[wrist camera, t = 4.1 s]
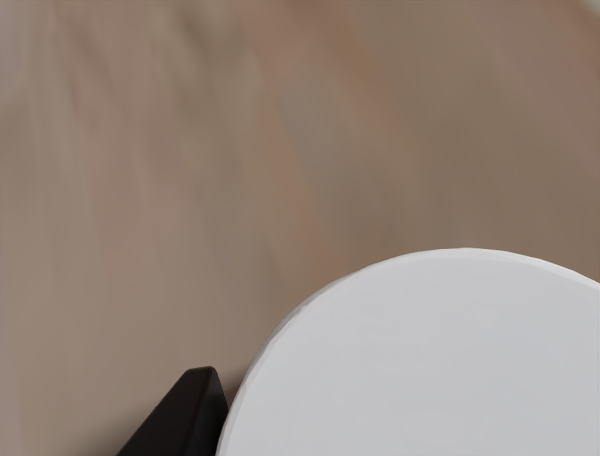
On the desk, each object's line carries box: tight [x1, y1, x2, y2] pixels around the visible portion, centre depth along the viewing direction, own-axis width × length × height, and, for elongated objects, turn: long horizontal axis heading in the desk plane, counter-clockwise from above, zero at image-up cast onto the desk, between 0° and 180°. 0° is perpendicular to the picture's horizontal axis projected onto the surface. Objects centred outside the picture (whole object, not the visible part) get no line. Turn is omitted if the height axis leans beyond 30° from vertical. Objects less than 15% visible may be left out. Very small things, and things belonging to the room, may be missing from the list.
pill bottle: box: [215, 248, 600, 456], centre depth 9 cm, size 6×6×10 cm
